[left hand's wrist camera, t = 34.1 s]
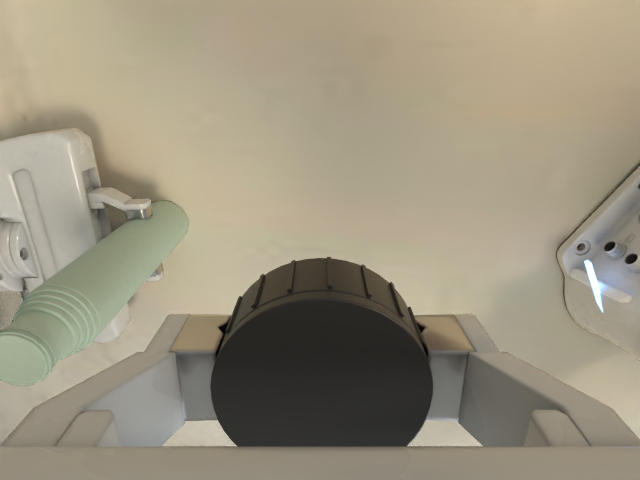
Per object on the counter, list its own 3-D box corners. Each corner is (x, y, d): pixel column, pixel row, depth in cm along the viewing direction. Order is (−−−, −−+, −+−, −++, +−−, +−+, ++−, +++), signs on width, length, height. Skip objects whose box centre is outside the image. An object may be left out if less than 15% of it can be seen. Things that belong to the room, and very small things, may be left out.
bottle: (196, 215, 43) (73, 350, 22) (176, 251, 44) (43, 410, 23) (154, 191, 42) (-18, 307, 21) (135, 228, 43) (-43, 372, 22)
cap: (189, 343, 10) (161, 399, 8) (320, 214, 9) (319, 248, 7) (322, 442, 11) (323, 510, 9) (454, 338, 10) (483, 394, 8)
